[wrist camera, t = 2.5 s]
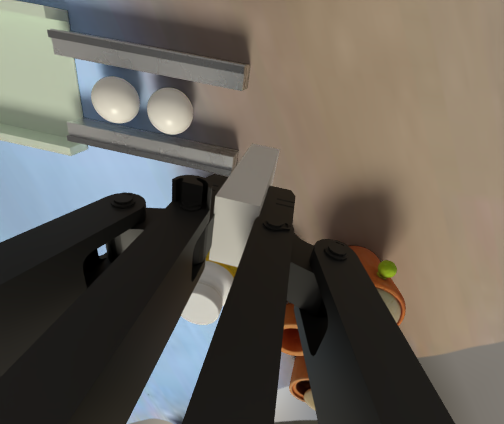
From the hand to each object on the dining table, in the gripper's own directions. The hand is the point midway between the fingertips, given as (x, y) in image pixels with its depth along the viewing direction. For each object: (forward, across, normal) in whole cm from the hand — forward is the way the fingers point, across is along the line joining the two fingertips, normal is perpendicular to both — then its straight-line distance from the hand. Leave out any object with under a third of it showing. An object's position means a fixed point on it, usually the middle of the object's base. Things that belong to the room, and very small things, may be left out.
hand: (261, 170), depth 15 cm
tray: (+11, -26, 0) cm, 28 cm away
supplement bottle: (+11, -4, -14) cm, 18 cm away
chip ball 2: (+11, -10, 0) cm, 14 cm away
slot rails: (+11, -12, 0) cm, 16 cm away
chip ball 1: (+11, -14, 0) cm, 18 cm away
